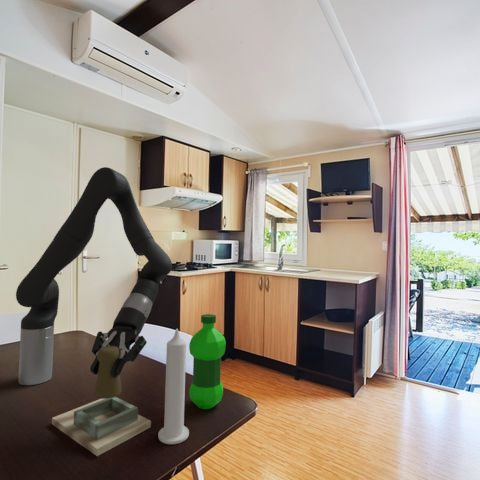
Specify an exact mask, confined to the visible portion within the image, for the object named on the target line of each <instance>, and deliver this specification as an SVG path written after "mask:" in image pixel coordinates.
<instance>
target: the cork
mask: <svg viewBox="0 0 480 480" xmlns="http://www.w3.org/2000/svg"><path fill="white" fill-rule="evenodd" d="M119 354H120V350H119V348H118V347H116V346H110V345H109V346H106V347H103V348H101V349H99V351H98V353H97V359H98V361H99V362H100V363H99V370H98V374H97V377H96V382H95V383H96V385H95V391H94V397H95V398H97V399H106V398H112V397H117V396H119V395H120V394H122V384H121V383H122V382H121V375H120V374H119V375H118V376H117V377H116V378H115V377H112V376H111V375H110V372H111V370H112V368H113V366H114V364H115V362H116V360H117V359H119Z"/></svg>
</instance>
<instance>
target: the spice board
mask: <svg viewBox="0 0 480 480" xmlns="http://www.w3.org/2000/svg"><path fill="white" fill-rule="evenodd" d="M51 425H53V427H55V428H57V429H58V430H59V431H60V432H62V433H63V434H65V435H66V436H68V437H69V438H70V439H72V440H73V441H74V442H76V443H77V444H79V445H80V446H81V447H84V448H85V449H86V450H88V451H89V452H91V454H93V455H95V456H96V457H99V456H100V455H103V454H104V453H106V452H108V451H110V450H112V449H113V448H115V447H117V446H119V445H120V444H122V443H125V442H126V441H128V440H131V439H132V438H134V437H135V436H137V435H139V434H140V433H143V432H144V431H146V430H149V429H150V428H151V427H152V426H151V425H152V421H151V419H148V418H147V417H144V416H142V415H140V414H139V408H138V406H135V405H133V404H131V403H129V402H127V401H125V400H123V399H122V398H118V397H117V396H115V397H112V398H106V399H100V398H98V399H97V400H93V401H91V402H89V403H86V404H83V405H81V406H79V407H76V408H73V409H72V410H69V411H66V412H63V413H61V414H58V415H56V416H53V417H51Z"/></svg>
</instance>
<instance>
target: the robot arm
mask: <svg viewBox="0 0 480 480" xmlns="http://www.w3.org/2000/svg"><path fill="white" fill-rule="evenodd" d="M107 200H110V201H111V202H112V203H113V204H114V205H115V207H116V208H117V210H118V212H119V215H120V217H121V219H122V225H123V230H124V234H125V236H126V239H127V241H128V242H129V245H130V246H131V248H132V249H133V252H134V253H135V254H136V256H138V257H143V256H144V257H145V258H146V260H147V262H146V263H145V264H144V265H143V266H142V268H141V270H140V272H139V274H138V277H137V280H136V283H135V284H134V285H133V288H132V290H131V291H130V294H129V295H128V297H127V298H125V300H124V302H123V303H122V305H121V307H120V309H119V311H118V313H117V315H116V316H115V319H114V320H113V323H112V327H111V328H110V329H109V330H108V331H107V332H103V331H98V332H97V334H96V336H95V339H94V342H93V345H92V349H91V353H92V354H93V355H94V356H95V358H94V359H93V362H92V363H91V365H90V370H89V371H90V372H91V374H93V375H97V376H98V370H99V363H100V362H99V361H98V359H97V353H98V351H99V349H101V348H103V347H106V346H116V347H118V348H119V350H120V354H119V359H117V360H116V362H115V364H114V366H113V368H112V370H111V372H110V375H111V376H112V377H115V378H116V377H117V376H118V375H120V374H121V372H122V370H123V368H124V366H125V365H126V363H127V362H132V363H133V362H134V361H135V360H136V358H137V357H138V356H139V355H140V353H141V352H142V350H143V349H144V347H145V346H146V345H147V343H148V342H147V340H146V339H145V337H144V335H140V334H141V332H142V330H143V328H144V326H145V324H146V322H147V319H148V317H149V315H150V313H151V311H152V307H153V304H154V303H155V300H156V299H157V296H158V294H159V285H160V283H161V281H162V280H164V279H165V277H166V276H168V275H169V274H170V273H171V272H172V269H173V264H172V260H171V258H170V256H169V255H168V253H166V251H164V249H163V248H162V247H161V245H159V244H158V243H157V242H156V240H155V238H154V236H153V235H152V233H151V231H150V230H149V228H148V226H147V225H146V222H145V220H144V218H143V216H142V214H141V212H140V209H139V207H138V205H137V202H136V200H135V197H134V194H133V190H132V189H131V186H130V182H129V180H128V178H127V177H126V176H125V175H123V174H122V173H120V172H119V171H116V170H115V169H113V168H110V167H107V166H105V167H101V168H98V169H97V170H96V171H94V173H93V174H92V176H91V177H90V179H89V180H88V183H87V184H86V186H85V188H84V191H82V194H81V196H80V198H79V200H78V201H77V203H76V204H75V206H74V208H73V209H72V210H71V212H70V214H69V215H68V217H67V218H66V220H65V221H64V223H63V224H62V225H61V226H60V228H59V229H58V231H57V233H56V234H55V236H54V237H53V239H52V240H51V242H50V243H49V245H48V247H47V248H46V249H45V251H44V252H43V254H42V255H41V256H40V258H39V259H38V261H37V262H36V264H35V265H34V266H33V267H32V268H31V270H30V271H28V273H27V274H26V275H25V276H24V278H23V279H22V280H21V281H20V282H19V284H18V286H17V288H16V291H15V298H16V302H17V303H18V304H19V305H20V306H21V307H25V308H30V310H29V311H28V313H27V314H25V315H24V317H22V318H21V321H20V334H19V335H20V337H19V338H20V339H19V359H18V380H17V381H18V384H19V385H21V386H33V385H39V384H42V383H46V382H47V381H50V380H51V379H52V378H53V365H54V364H53V363H54V361H53V360H54V358H53V357H54V337H55V319H56V318H57V315H58V310H59V301H60V300H59V297H60V287H59V283H58V282H57V280H56V279H55V278H56V277H57V276H58V274H59V273H60V272H61V271H63V269H65V268H66V267H68V265H70V264H71V263H72V262H74V260H76V259H77V258H78V257H79V256H80V255H81V254H82V252H83V251H84V250H85V249H86V247H87V245H88V244H89V243H90V241H91V239H92V237H93V235H94V232H95V225H96V224H95V223H96V218H97V215H98V213H99V211H100V209H101V208H102V206H103V205H104V204H105V202H106V201H107Z"/></svg>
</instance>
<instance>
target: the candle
mask: <svg viewBox="0 0 480 480" xmlns="http://www.w3.org/2000/svg"><path fill="white" fill-rule="evenodd" d="M165 359H166V360H165V361H166V362H165V390H164V418H163V419H164V420H163V421H164V423H163V424H164V425H163V426H164V427H162V428H161V429H160V430H159V431H158V434H157V435H158V440H159V441H160V442H161V443H162V444H166V445H177V444H181V443H183V442H185V441H186V440H187V439H188V437H189V436H190V435H189V434H190V430H189V428H188V427H187V426H185V425H184V424H185V397H186V396H185V393H186V392H185V391H186V390H185V389H186V359H187V342H186V341H185V340H184V339H182V338H181V335H180V332H179V329H178V328H176V329H175V332H174V336H173V337H172V338H171V339H170V340H168V341H167V343H166V358H165Z"/></svg>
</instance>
